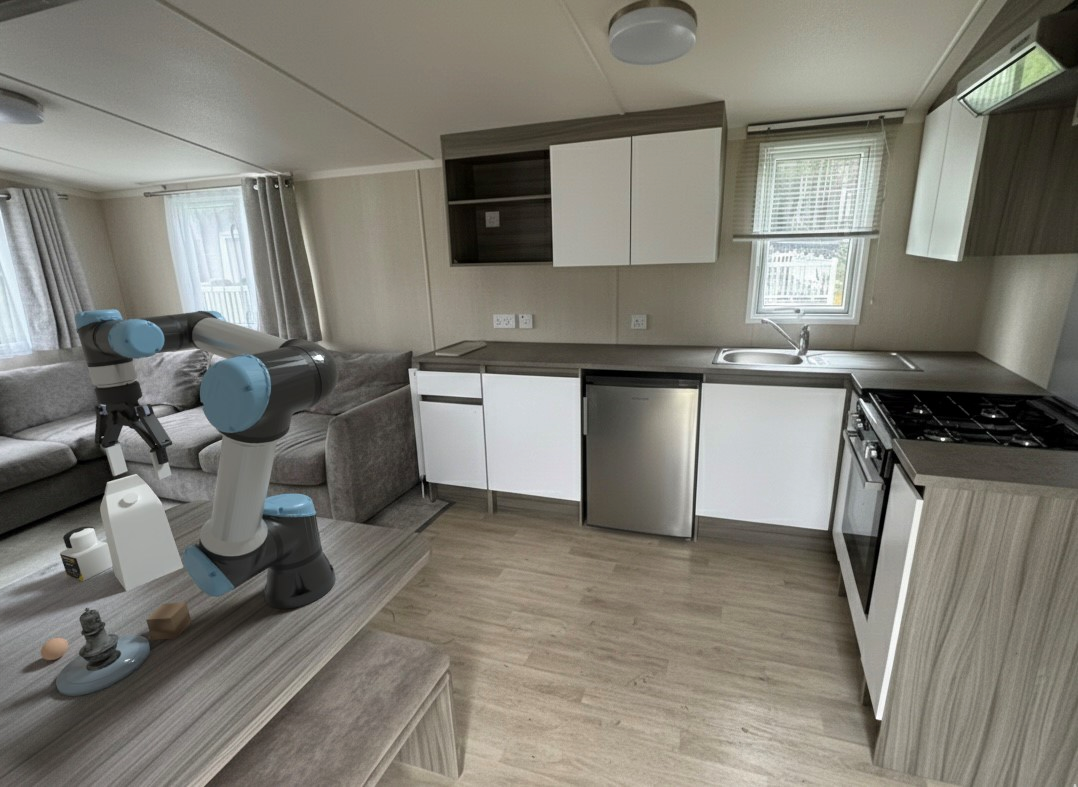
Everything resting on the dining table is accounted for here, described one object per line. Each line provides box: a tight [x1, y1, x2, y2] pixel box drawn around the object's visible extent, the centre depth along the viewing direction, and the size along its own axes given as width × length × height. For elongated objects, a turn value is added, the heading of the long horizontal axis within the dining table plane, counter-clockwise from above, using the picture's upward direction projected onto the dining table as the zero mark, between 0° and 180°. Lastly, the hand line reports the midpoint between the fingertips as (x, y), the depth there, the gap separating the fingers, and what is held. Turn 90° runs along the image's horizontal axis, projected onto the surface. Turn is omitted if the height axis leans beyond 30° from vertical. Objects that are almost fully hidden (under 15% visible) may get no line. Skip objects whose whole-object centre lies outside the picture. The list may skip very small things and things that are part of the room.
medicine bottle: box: [59, 526, 113, 582], centre depth 131 cm, size 7×7×12 cm
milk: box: [99, 473, 184, 592], centre depth 128 cm, size 12×12×26 cm
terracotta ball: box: [40, 637, 69, 661], centre depth 101 cm, size 4×4×4 cm
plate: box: [55, 634, 151, 697], centre depth 99 cm, size 14×14×1 cm
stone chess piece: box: [78, 607, 121, 671], centre depth 97 cm, size 6×6×12 cm
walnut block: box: [145, 602, 192, 641], centre depth 107 cm, size 5×5×5 cm
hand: (142, 475), depth 113 cm, fingers open, 13 cm apart
